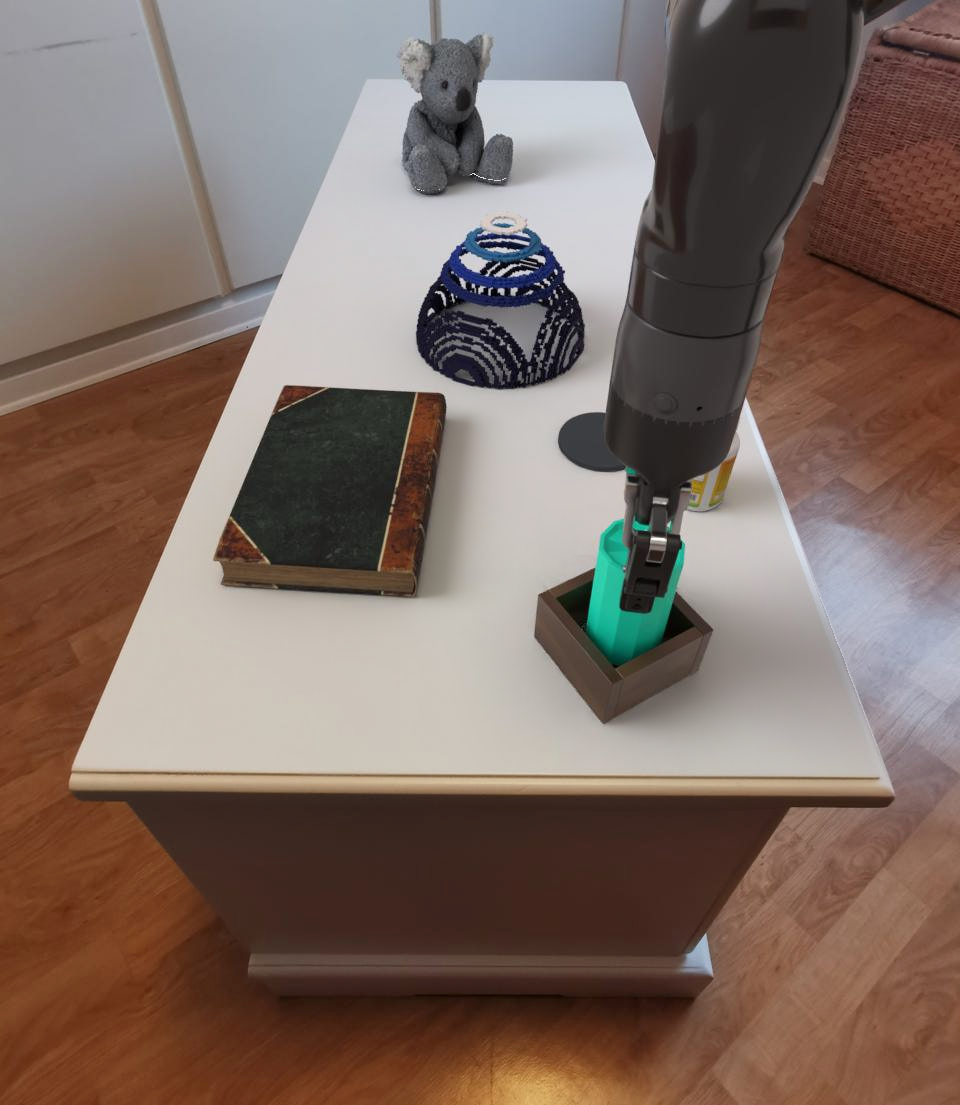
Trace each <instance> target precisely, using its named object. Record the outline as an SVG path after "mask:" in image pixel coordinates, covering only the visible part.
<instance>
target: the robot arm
mask: <svg viewBox="0 0 960 1105" xmlns="http://www.w3.org/2000/svg"><path fill="white" fill-rule="evenodd" d="M907 1H908V0H666V3H665V11H664V27H663V30H664V45H665V70H664V80H663V81H664V82H663V91H662V102H661V110H660V111H661V112H660V120H659V128H658V136H657V144H656V149H655V150H656V152H655V159H654V166H653V167H654V168H653V174H652V183H651V184H652V185H651V190H650V191H649V193H648V194H647V197H646V199H645V201H644V203H643V206H642V209H641V212H640V216H639V220H638V224H637V229H636V235H635V240H634V247H633V252H632V260H631V266H630V273H629V281H628V286H627V287H628V288H627V293H626V298H625V302H624V308H623V311H622V314H621V318H620V320H619V323H618V328H617V332H616V337H615V344H614V350H613V357H612V365H611V372H610V379H609V386H608V392H607V393H608V394H607V399H606V406H605V412H604V413H605V420H604V427H603V434H604V439H605V442H606V445H607V447H608V448H609V450H610V452H611V453H612V454H613V455H614V456H615V457H616V458H617V459H618V460H619V461H620V462H621V463H623V464H624V465H625V466H626V468H625V469H624V471H625V479H624V480H625V481H624V490H623V500H624V502H625V510H624V517H623V519H624V523H623V530H622V542H623V544H624V546H626V547H627V548H628V550H627V557H626V563H625V565H623V573H624V580H623V585H622V589H621V594H620V602H619V608H620V609H621V610H623V611H626V612H634V613H642V614H646V613H650V612H651V611H652V607H653V603H654V600H655V597H660V598H664V596H665V593H667V590H668V584H669V581H670V578H671V575H672V572H673V569H674V566H675V563H676V560H677V557H678V554H679V550H681V548H682V541H683V540H682V538H681V534H680V533H681V528H682V522H683V517H684V512H685V511H686V510H688V509H687V508H688V506H689V501H690V496H691V490H692V481H691V479H693V478H696V477H698V476H701V475H704V474H706V473H708V472H710V471H712V470H714V469H715V468H717V467H718V466H719V465H720V464H721V463H722V462H723V461H724V460H725V458H726V457H727V455H728V453H729V451H730V448H731V444H732V441H733V438H734V434H735V431H736V428H737V424H738V421H739V418H740V419H741V414H742V411H743V407H744V405H745V400H746V398H747V394H748V392H749V387H750V385H751V381H752V378H753V375H754V371H755V368H756V365H757V361H758V358H759V357H758V356H759V353H760V347H761V343H762V342H761V341H762V333H763V326H764V321H765V317H766V313H767V310H768V307H769V304H770V300H771V298H772V293H773V290H774V286H775V283H776V279H777V276H778V273H779V269H780V266H781V263H782V259H783V255H784V251H785V246H786V240H787V237H788V233H789V228H790V226H791V225H792V223H793V221H794V219H795V217H796V216H797V214H798V212H799V211H800V209H801V207H802V205H803V203H804V201H805V199H806V197H807V195H808V192H809V191H810V189H811V187H812V185H813V182H814V180H815V178H816V176H817V174H818V171H819V169H820V168H821V166H822V163H823V161H824V159H825V157H826V155H827V152H828V150H829V148H830V146H831V143H832V142H833V140H834V136H835V134H836V132H837V129H838V127H839V124H840V122H841V120H842V117H843V114H844V112H845V109H846V107H847V103H848V100H849V97H850V93H851V92H852V87H853V84H854V80H855V76H856V72H857V68H858V64H859V60H860V56H861V51H862V44H863V37H864V27H865V26H866V25H868V24H870V23H871V22H873V21H875V20H876V19H878V18H880V17H881V16H883V15H886V14H887V13H889V12H890V11H892V10H893V9H895V8H897V7H898V6H900V5H902V4H904V3H905V2H907ZM739 422H740V421H739ZM736 432H737V431H736ZM634 516H635V521H637V522H638V523H639V524H641V525H646V526H649V528H648V531H643V530H635V529H634V528H633V520H634ZM669 523H670V524H669ZM668 524H669V530H668V531H667V527H668ZM681 540H682V541H681Z"/></svg>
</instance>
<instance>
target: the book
mask: <svg viewBox="0 0 960 1105" xmlns="http://www.w3.org/2000/svg"><path fill="white" fill-rule="evenodd" d="M447 408H448V406H447V400H446V397H445V395H444V394H443V393H441V392H433V391H432V392H430V391H429V392H428V391H409V390H408V391H406V390H386V389H385V390H384V389H366V388H365V389H364V388H348V387H347V388H346V387H331V386H330V387H329V386H314V385H313V386H312V385H295V384H292V385H291V384H285V385H283V387H282V389H281V390H280V394H279V396H278V398H277V400H276V402H275V405H274V408H273V410H272V413H271V415H270V416H269V420H268V422H267V424H266V427H265V429H264V431H263V434H262V435H261V439H260V440H259V443H258V445H257V448H256V451H255V453H254V456H253V458H252V460H251V462H250V465H249V467H248V470H247V472H246V474H245V477H244V479H243V482H242V484H241V487H240V488H239V492H238V494H237V496H236V500H235V501H234V503H233V507H232V509H231V511H230V513H229V516H228V518H227V520H226V523H225V525H224V527H223V530H222V533H221V535H220V536H219V540H218V543H217V546H216V549H215V552H214V554H213V557H212V561H213V562H219V563H220V565H221V569H222V572H223V576H222V579H221V582H220V585H221V586H230V587H231V586H233V587H248V588H262V589H263V588H265V589H278V590H294V591H308V592H309V591H310V592H326V593H327V592H328V593H342V594H343V593H345V594H363V595H365V594H366V595H382V596H393V597H402V598H403V597H404V598H406V597H407V598H408V597H410V598H411V597H412V598H414V597H415V596H416V594H417V591H418V585H419V579H420V572H421V567H422V561H423V554H424V550H425V549H424V548H425V543H426V537H427V531H428V526H429V519H430V513H431V509H432V503H433V502H432V501H433V496H434V490H435V484H436V478H437V472H438V467H439V459H440V454H441V447H442V441H443V435H444V429H445V422H446V418H447V417H446V416H447Z"/></svg>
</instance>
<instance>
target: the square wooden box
mask: <svg viewBox="0 0 960 1105" xmlns="http://www.w3.org/2000/svg"><path fill="white" fill-rule="evenodd" d="M595 568H596V566H595V567H593V568H591V569H589V570H587V571H585V572H583V573H580V574H579V575H575V576H574V577H572V578H570V579H568V580H565V581H564V582H562V583H560V584H557V585H555V586H553V587H551V588H549V589H546V590H545V591H543V592H541V593H538V595H537V601H536V612H535V622H534V634H533V637H534V638H535V640H536V641H537V642H538V644H539V645H540V646H541V647H542V648H543V650H544V652H545V653H547V655H548V656H549V657H550V659H551V660H552V662H554V664H555V665H556V667H557V668H558V669H559V670H560V671H561V673H562V674H563V675H564V677H565V678H566V680H568V682H569V683H570V685H571V686H572V687H573V688H574V690H576V692H577V693H578V695H579V696H580V697H581V698H582V700H583V701H584V703H586V705H587V706H588V707H589V708H590V710H591V711H592V712H593V714H594V715H595V716H596V717H597V719H598V720H599V721H600V722H601V724H603V725H604V724H605V723H607V722H609V721H611V720H613V719H614V718H616V717H618V716H620V715H622V714H624V713H625V712H627V711H628V710H630V709H632V708H634V707H636V706H637V705H639V704H641V703H643V702H644V701H646V700H649V699H650V698H652V697H654V696H656V695H657V694H659V693H661V692H663V691H665V690H666V689H668V688H669V687H671V686H673V685H675V684H677V683H679V682H681V681H682V680H684V679H686V678H688V677H689V676H691V675H693V674H695V673H697V672H698V671H699V669H700V668H701V665H702V661H703V659H704V656H705V654H706V651H707V649H708V646H709V643H710V641H711V638H712V636H713V634H714V633H713V632H714V628H713V627H712V626H711V625H710V624H709V623H708V622H707V621H706V620H705V619H704V618H703V617H702V616H701V615H700V614H699V613H698V612H697V611H696V610H695V609H694V608H693V607H692V606H691V605H690V603H688V601H687V600H685V599H684V598H683V597H682V596H681V594H680V593H679V592H678V591H676V592H675V596H674V599H673V603H672V606H671V610H670V613H669V617H668V620H667V624H666V627H665V631H664V634H663V638H662V641H661V645H659V646H657V647H655V648H653V649H651V650H649V651H647V652H646V653H644V654H642V655H640V656H638V657H636V658H634V659H632V660H630V661H629V662H627V663H625V664H623V665H621V666H617V667H614V665H612V664H610V662H609V661H608V660H607V659H606V658H605V656H604V655H603V654H602V653H601V652H600V650H599V649H598V648H597V647H596V646H595V645H594V643H593V642H592V641H591V640H590V639H589V637H588V636H587V635H586V634H585V633H586V632H585V631H584V630H583V629H582V627H581V625H583V624H586V623H587V619H588V612H589V606H590V600H591V594H592V587H593V581H594V575H595Z"/></svg>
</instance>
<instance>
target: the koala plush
mask: <svg viewBox="0 0 960 1105" xmlns="http://www.w3.org/2000/svg"><path fill="white" fill-rule="evenodd" d="M493 40H494V37H493V36H492V35H489V34H486V33H485V32H484V31H482V33H480V34H476V35H474V36H473V37H472V38H471V39H469V40H468V41H467V42H466V43H464V42H463V41H461V40H460V39H458V38H450V39H449V38H447V37H446V38H444V37H442V38H440V39H438V40H435V41H434V42H432V43H431V44H430V43H428V42H426V41H425V40H421V39H420V38H417V39H415V37H414V36H409V38H406V39H405V41H404V42H403V43H402V45H401V46H399V49H400V50H398V53H397V54H396V57H397V58H398V59H399V60H401V61H400V62H399V63H400V64H399V69H400V71H401V75H402V77H403V78H404V79H403V80H404V81H406V82H408V84H410V89H413V90H414V92H415V93H417V94H420V95H421V99H420V100H417V102H414V103H413V105H412V106H411V107H410V110H409V114H408V117H407V120H406V121H407V122H406V127H405V131H404V132H403V135H402V136H403V137H402V152H401V154H402V157H401V162H403V164H404V166H403V170H404V171H405V172H406V171H407V170H408V171H407V173H408V177H409V181H410V185H411V187H412V188H413V189H414V190H415V191H418V192H419V193H422V194H425V195H431V194H435V195H436V194H439V193H440V192H443V191H444V190H445V188H446V187H447V184H448V177H447V176H448V175H449V176H452V175H453V174H455V173H457V172H458V174H459V175H460V176H463V175H464V176H463V177H465V176H466V175H470V174H472V173H475V174H476V175H478V176H480V177H484V178H486V179H483V178H480V177H478V176H476V175H474V174H472V175H470V176H466V177H469V178H471V179H473V180H476V181H479V182H484V183H488V184H489V185H491V184H493V185H500V184H504V183H506V181H507V179H508V178H509V175H510V174H511V173H510V172H511V171H512V167H513V161H514V160H513V158H514V153H513V152H514V141H513V138H512V137H511V136H506V135H505V134H503V133H499V134H498V133H496V134H495V135H492V137H490V138H489V140H488V141H487V142H486V144H485V130H484V125H483V121H482V118H481V115H480V112H479V110H478V108H477V106H476V103H477V93H478V90H479V88H478V87H479V83H482V82H483V80H485V72H486V71H487V69H488V68H489V67H490V64H491V51H492V48H493V47H494V43H493V42H494V41H493ZM403 164H402V165H403ZM504 178H506V179H504ZM488 179H493V180H488ZM502 179H504V180H502ZM494 180H501V181H494ZM415 187H416V188H415ZM417 189H420V190H417ZM439 189H440V190H439ZM421 190H422V191H421ZM423 190H424V191H423Z"/></svg>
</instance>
